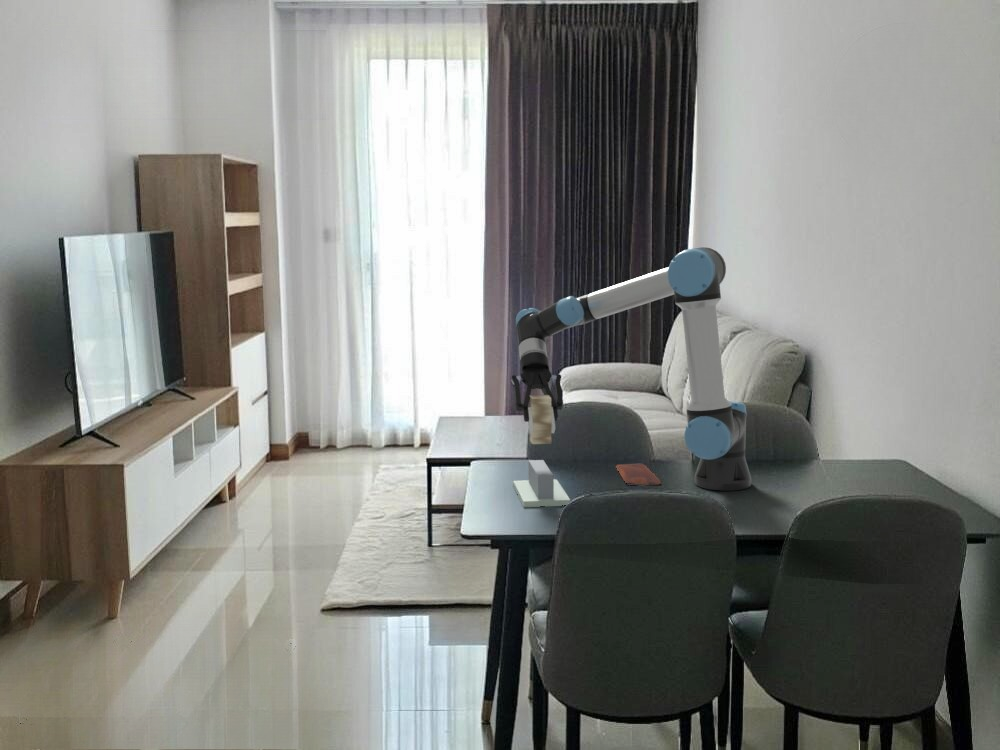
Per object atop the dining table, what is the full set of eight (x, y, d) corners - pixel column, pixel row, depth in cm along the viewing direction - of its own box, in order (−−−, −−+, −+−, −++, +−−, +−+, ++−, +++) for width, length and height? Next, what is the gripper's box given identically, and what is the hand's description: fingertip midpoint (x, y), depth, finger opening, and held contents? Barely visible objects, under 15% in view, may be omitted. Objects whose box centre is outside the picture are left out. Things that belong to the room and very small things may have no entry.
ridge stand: (513, 486, 299) (512, 459, 298) (556, 484, 301) (556, 457, 300) (523, 507, 278) (523, 478, 277) (570, 505, 279) (570, 476, 278)
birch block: (548, 439, 290) (548, 395, 288) (551, 443, 285) (551, 398, 283) (529, 440, 290) (529, 395, 288) (532, 444, 285) (532, 398, 283)
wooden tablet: (662, 488, 299) (662, 482, 299) (626, 488, 299) (626, 482, 298) (646, 465, 325) (646, 460, 325) (613, 465, 325) (613, 460, 325)
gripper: (565, 366, 301) (575, 437, 287) (499, 368, 299) (506, 439, 285) (568, 349, 295) (578, 421, 281) (501, 351, 293) (508, 423, 279)
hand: (542, 430), depth 283 cm, fingers closed on birch block, 5 cm apart
